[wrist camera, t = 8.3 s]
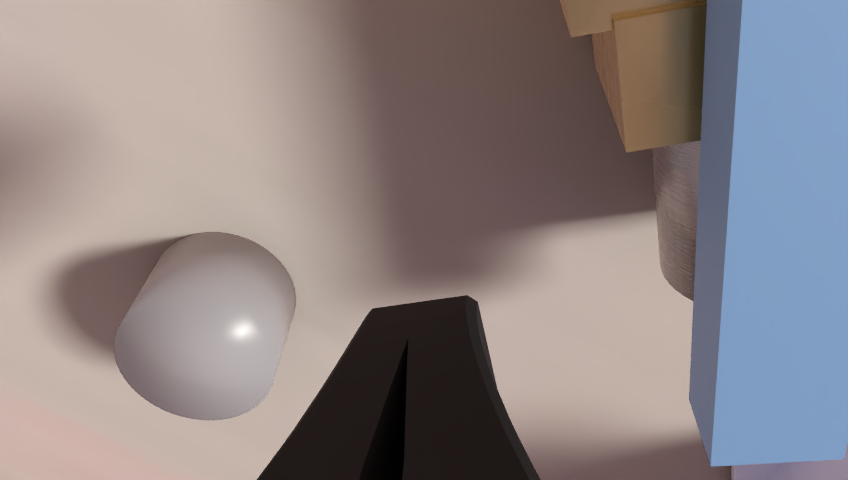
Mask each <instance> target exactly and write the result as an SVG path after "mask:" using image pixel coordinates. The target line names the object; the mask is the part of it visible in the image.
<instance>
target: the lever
mask: <svg viewBox="0 0 848 480" xmlns="http://www.w3.org/2000/svg"><path fill="white" fill-rule="evenodd" d="M689 400H690V404H691V407H692V410H693V413H694V416H695V419H696V422H697V426H698V429H699V432H700V435H701V438H702V441H703V444H704V447H705V451H706V454H707V457H708V460H709V463H710V466H711V467H714V466H732V465H750V464H768V463H786V462H804V461H822V460H840V459H844V458H845V453H846V448H847V443H848V0H707V11H706V33H705V56H704V78H703V100H702V123H701V145H700V167H699V190H698V212H697V235H696V257H695V279H694V302H693V324H692V346H691V369H690V391H689Z"/></svg>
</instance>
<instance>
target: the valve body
mask: <svg viewBox="0 0 848 480" xmlns="http://www.w3.org/2000/svg"><path fill="white" fill-rule="evenodd" d="M559 1H560V4H561V7H562V10H563V14H564V17H565V20H566V23H567V27H568V30H569V33H570V36H571V38H573V37H578V36H583V35H589V34H592V43H593V52H594V62H595V67H596V70H597V72H598V75H599V78H600V81H601V84H602V86H603V89H604V92H605V95H606V98H607V100H608V103H609V106H610V109H611V112H612V114H613V117H614V120H615V123H616V126H617V129H618V131H619V134H620V137H621V140H622V143H623V145H624V148H625V151H626V153H628V152H634V151H640V150H646V149H652V157H653V171H654V185H655V199H656V213H657V226H658V240H659V254H660V266H661V270H662V273H663V275H664V277H665V278H666V280H667V281H668V283H669V284H670V285H671V286H672V287H673V288H674V289H675V290H677V291H678V292H679V293H681V294H682V295H683V296H685V297H687V298H689V299H691V300H692V301H694V279H695V257H696V235H697V212H698V190H699V167H700V145H701V123H702V100H703V78H704V56H705V33H706V11H707V0H559Z"/></svg>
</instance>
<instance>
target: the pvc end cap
mask: <svg viewBox="0 0 848 480" xmlns="http://www.w3.org/2000/svg"><path fill="white" fill-rule="evenodd" d="M295 306H296V294H295V288H294V285H293V282H292V279H291V277H290V275H289V273H288V272H287V270H286V269H285V267H284V266H283V265H282V263H281V262H280V261H279V260H278V259H277V258H276V257H275V256H274V255H273V254H272V253H270V252H269V251H268V250H266V249H265V248H264V247H262V246H260V245H259V244H257V243H255V242H253V241H251V240H249V239H246V238H243V237H240V236H237V235H233V234H229V233H221V232H204V233H197V234H193V235H189V236H187V237H184V238H182V239H180V240H178V241H176V242H174V243H173V244H172V245H170V246H169V247H168V248H167V249H166V250H165V251H164V252H163V254H162V255H161V257H160V258H159V260H158V261H157V263H156V265H155V266H154V268H153V270H152V271H151V273H150V275H149V277H148V278H147V280H146V282H145V283H144V285H143V287H142V288H141V290H140V292H139V293H138V295H137V297H136V299H135V300H134V302H133V304H132V305H131V307H130V309H129V310H128V312H127V314H126V315H125V317H124V319H123V321H122V322H121V324H120V326H119V328H118V330H117V332H116V335H115V339H114V355H115V359H116V363H117V366H118V368H119V370H120V372H121V374H122V375H123V377H124V378H125V380H126V381H127V382H128V384H129V385H130V386H131V387H132V388H133V389H134V390H135V391H136V392H137V393H138V394H139V395H140V396H142V397H143V398H144V399H146V400H147V401H149V402H150V403H152V404H153V405H155V406H157V407H159V408H161V409H163V410H165V411H167V412H170V413H172V414H175V415H179V416H182V417H186V418H191V419H198V420H222V419H228V418H233V417H236V416H239V415H242V414H244V413H246V412H248V411H250V410H252V409H253V408H255V407H256V406H257V405H258V404H260V403H261V402H262V401H263V399H264V398H265V397H266V396H267V394H268V392H269V391H270V388H271V386H272V383H273V380H274V377H275V373H276V370H277V367H278V364H279V360H280V357H281V354H282V350H283V347H284V344H285V341H286V337H287V334H288V331H289V328H290V324H291V321H292V318H293V315H294V311H295Z"/></svg>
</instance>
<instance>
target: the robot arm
mask: <svg viewBox="0 0 848 480" xmlns="http://www.w3.org/2000/svg"><path fill="white" fill-rule="evenodd" d="M257 480H540V478H539V476H538V474H537V472H536V470H535V469H534V467H533V465H532V463H531V461H530V459H529V457H528V455H527V453H526V451H525V449H524V447H523V445H522V443H521V441H520V439H519V437H518V435H517V433H516V431H515V429H514V427H513V425H512V423H511V420H510V418H509V416H508V414H507V411H506V409H505V406H504V404H503V402H502V399H501V397H500V395H499V392H498V390H497V386H496V382H495V377H494V373H493V368H492V364H491V359H490V355H489V350H488V346H487V342H486V337H485V333H484V328H483V324H482V319H481V315H480V310H479V306H478V302H477V301H475V300H474V299H472V298H471V297H469V296H467V295H466V296H459V297H452V298H444V299H437V300H430V301H423V302H416V303H409V304H402V305H395V306H388V307H381V308H374V309H372V310H371V311H370V312H369V314H368V315H367V316H366V318H365V319H364V321H363V322H362V324H361V326H360V327H359V329H358V330H357V332H356V334H355V335H354V337H353V339H352V340H351V342H350V343H349V345H348V347H347V348H346V350H345V352H344V353H343V355H342V356H341V358H340V360H339V361H338V363H337V364H336V366H335V368H334V369H333V371H332V372H331V374H330V376H329V377H328V379H327V380H326V382H325V383H324V385H323V387H322V388H321V390H320V391H319V393H318V394H317V396H316V397H315V399H314V400H313V402H312V403H311V405H310V406H309V408H308V409H307V410H306V412H305V413H304V415H303V416H302V418H301V419H300V421H299V422H298V424H297V425H296V427H295V428H294V430H293V431H292V433H291V434H290V436H289V437H288V438H287V440H286V441H285V443H284V444H283V445H282V447H281V448H280V449H279V451H278V452H277V453H276V455H275V456H274V457H273V459H272V460H271V461H270V463H269V464H268V465H267V467H266V468H265V469H264V471H263V472H262V473H261V475H260V476H259V477H258V479H257ZM731 480H848V443H847V448H846V453H845V458H844V459H840V460H822V461H804V462H786V463H768V464H750V465H732V466H731Z"/></svg>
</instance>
